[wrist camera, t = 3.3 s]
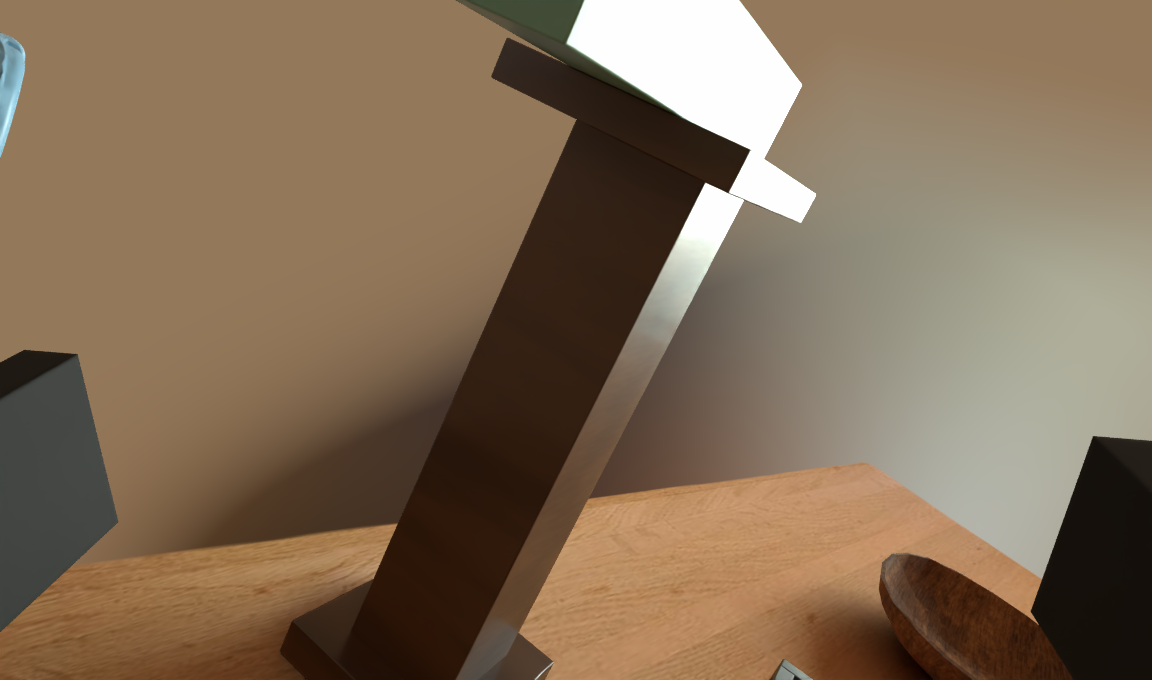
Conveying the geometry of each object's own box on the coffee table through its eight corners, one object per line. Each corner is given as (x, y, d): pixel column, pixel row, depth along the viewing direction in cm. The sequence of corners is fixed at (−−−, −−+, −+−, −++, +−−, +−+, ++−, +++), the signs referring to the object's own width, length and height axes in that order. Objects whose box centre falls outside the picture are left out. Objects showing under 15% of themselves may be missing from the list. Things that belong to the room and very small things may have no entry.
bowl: (829, 649, 60) (862, 600, 58) (873, 568, 79) (898, 530, 77) (1090, 843, 51) (1136, 791, 50) (1068, 700, 70) (1101, 659, 69)
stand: (406, 820, 32) (751, 149, 23) (253, 665, 35) (506, 36, 27) (552, 676, 43) (816, 194, 35) (426, 571, 47) (639, 111, 39)
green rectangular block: (564, 45, 17) (641, -136, 16) (422, -19, 19) (484, -188, 18) (760, 167, 35) (802, 84, 34) (678, 128, 37) (717, 49, 36)
